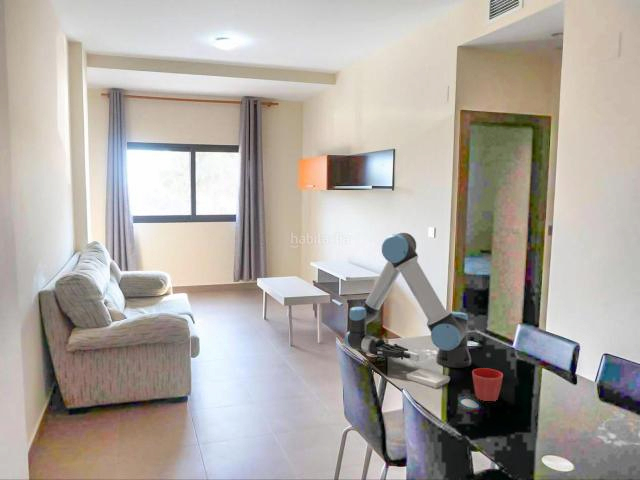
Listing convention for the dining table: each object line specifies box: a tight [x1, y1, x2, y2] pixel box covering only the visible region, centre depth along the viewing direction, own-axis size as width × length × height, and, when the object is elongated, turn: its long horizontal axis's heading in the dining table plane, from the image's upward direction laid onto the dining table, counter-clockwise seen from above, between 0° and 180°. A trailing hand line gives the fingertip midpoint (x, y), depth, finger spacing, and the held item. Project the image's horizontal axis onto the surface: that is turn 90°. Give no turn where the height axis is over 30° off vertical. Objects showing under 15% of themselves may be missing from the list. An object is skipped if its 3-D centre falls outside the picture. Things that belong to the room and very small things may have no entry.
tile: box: [406, 368, 451, 389], centre depth 207 cm, size 10×2×14 cm
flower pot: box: [471, 367, 504, 402], centre depth 188 cm, size 11×11×10 cm
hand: (417, 357), depth 211 cm, fingers closed
